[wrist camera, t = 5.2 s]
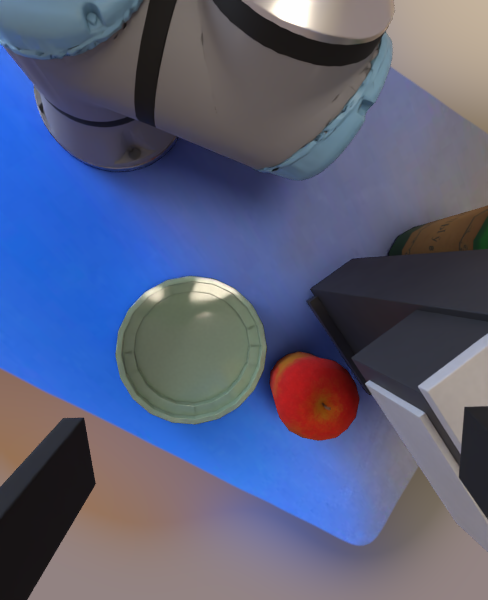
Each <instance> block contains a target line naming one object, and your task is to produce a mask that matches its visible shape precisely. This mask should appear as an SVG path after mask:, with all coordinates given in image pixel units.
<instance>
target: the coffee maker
mask: <svg viewBox="0 0 488 600" xmlns="http://www.w3.org/2000/svg"><path fill="white" fill-rule="evenodd" d="M310 290H311V291H312V293H313V294H314V296H313V297H312V298H310V299H309V300H308V301H307V303H308V305H309V306H310V308H311V309H312V311H313V312H314V314H315V315H316V317H317V318H318V320H319V321H320V323H321V324H322V326H323V327H324V329H325V331H326V332H327V334H328V335H329V337H330V338H331V340H332V341H333V343H334V344H335V346H336V347H337V349H338V350H339V352H340V353H341V355H342V356H343V358H344V359H345V361H346V363H347V364H348V366H349V367H350V369H351V370H352V372H353V373H354V375H355V376H356V378H357V379H358V381H359V382H360V384H361V385H362V387H363V388H364V390H365V391H366V393H368V394H369V395H371V394H372V395H373V397H374V398H375V400H376V401H377V403H378V405H379V406H380V408H381V409H382V411H383V412H384V414H385V415H386V417H387V418H388V420H389V421H390V423H391V424H392V426H393V427H394V429H395V430H396V432H397V434H398V435H399V437H400V438H401V440H402V441H403V443H404V444H405V446H406V447H407V449H408V450H409V452H410V453H411V455H412V456H413V458H414V459H415V461H416V463H417V464H418V466H419V467H420V469H421V470H422V472H423V473H424V475H425V476H426V478H427V479H428V481H429V482H430V484H431V485H432V487H433V488H434V490H435V492H436V493H437V495H438V496H439V498H440V499H441V501H442V502H443V504H444V505H445V507H446V508H447V510H448V511H449V513H450V514H451V516H452V518H453V519H454V520H455V522H456V523H457V524H458V525H459V526H460V527H461V528H462V529H463V530H464V531H465V532H467V533H468V534H469V535H470V536H471V537H472V538H473V539H474V540H475V541H476V542H478V543H479V544H480V545H481V546H482V547H483V548H484V549H485V550H486V551H487V552H488V519H487V518H486V516H485V515H484V513H483V512H482V511H481V509H480V508H479V506H478V505H477V503H476V502H475V500H474V499H473V498H472V496H471V495H470V493H469V492H468V490H467V489H466V487H465V486H464V484H463V483H462V482H461V480H460V479H459V468H460V456H461V443H462V430H463V418H464V407H474V406H488V249H481V250H467V251H453V252H439V253H425V254H411V255H397V256H383V257H369V258H356V259H351V260H350V261H349V262H347V263H346V264H344V265H343V266H342V267H340V268H339V269H337V270H336V271H334V272H333V273H332V274H330V275H329V276H327V277H326V278H325V279H323V280H322V281H320V282H319V283H318V284H316V285H315V286H313V287H312V288H311V289H310Z"/></svg>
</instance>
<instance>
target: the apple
mask: <svg viewBox="0 0 488 600" xmlns="http://www.w3.org/2000/svg"><path fill="white" fill-rule="evenodd" d="M269 384H270V387H271V391H272V394H273V398H274V401H275V405H276V408H277V412H278V414H279V417H280V419H281V420H282V422H283V423H284V424H285V426H286V427H287V428H288V430H289V431H291V432H293V433H295V434H297V435H299V436H300V437H302V438H307V439H313V440H326V439H331V438H336V437H337V436H339V435H340V434H341V433H343V432H344V431H345V430H346V429H348V427H349V426H350V424H351V423H352V422H353V420H354V419H355V417H356V413H357V409H358V404H359V399H360V398H359V395H358V391H357V387H356V383H355V382H354V380H353V379H352V377H351V375H350V374H349V372H348V371H347V370H346V369H345V368H344V367H342V366H341V365H340V364H338V363H337V362H336V361H333V360H329V359H323V358H319V357H316V356H314V355H312V354H309V353H305V352H300V351H299V352H295V353H291V354H287V355H286V356H284V357H283V358H281V359H280V360H278V361H277V363H276V364H275V366H274V367H273V369H272V370H271V373H270V383H269Z"/></svg>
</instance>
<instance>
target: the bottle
mask: <svg viewBox="0 0 488 600" xmlns="http://www.w3.org/2000/svg"><path fill="white" fill-rule="evenodd" d="M481 249H488V206H485V207H482V208H478V209H475V210H471V211H468V212H464V213H461V214H458V215H454V216H451V217H447V218H444V219H441V220H437V221H434V222H430V223H427V224H423V225H420V226H417V227H413V228H412V229H410V230H408V231H406V232H405V233H403V234H401V235H400V236H398V238H397V239H396V241H395V243H394V245H393V246H392V248H391V250H390V252H389V256H397V255H411V254H425V253H439V252H453V251H467V250H481Z"/></svg>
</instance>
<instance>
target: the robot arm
mask: <svg viewBox="0 0 488 600" xmlns="http://www.w3.org/2000/svg"><path fill="white" fill-rule="evenodd" d="M393 15H394V0H0V44H1V45H2V46H3V47H4V48H5V49H6V51H7V52H8V53H9V54H10V56H11V57H12V58H13V59H14V60H15V62H16V63H17V64H18V65H19V67H20V68H21V69H22V70H23V72H24V73H25V74H26V75H27V77H28V78H29V79H30V80H31V81H32V83H33V84H34V94H35V99H36V104H37V107H38V110H39V112H40V115H41V117H42V120H43V122H44V124H45V126H46V127H47V129H48V130H49V132H50V133H51V135H52V136H53V137H54V138H55V140H56V141H57V142H58V143H59V144H60V145H61V146H62V147H63V148H64V149H65V150H66V151H67V152H68V153H70V154H71V155H72V156H73V157H75V158H76V159H78V160H79V161H81V162H83V163H85V164H87V165H89V166H92V167H95V168H98V169H101V170H106V171H113V172H124V171H132V170H137V169H141V168H143V167H146V166H148V165H150V164H152V163H154V162H156V161H157V160H159V159H160V158H161V157H163V156H164V155H165V154H166V153H167V152H168V151H169V150H170V149H171V147H172V146H173V145H174V143H175V142H176V140H177V139H178V137H179V138H182V139H184V140H187V141H189V142H191V143H194V144H196V145H199V146H201V147H204V148H206V149H208V150H211V151H213V152H216V153H218V154H220V155H223V156H225V157H228V158H230V159H233V160H235V161H237V162H240V163H242V164H245V165H247V166H250V167H252V168H253V169H254V170H256V171H260V172H264V173H268V172H269V173H272V174H275V175H278V176H281V177H284V178H287V179H290V180H306V179H309V178H312V177H314V176H316V175H317V174H319V173H321V172H322V171H323V170H325V169H326V168H327V167H328V166H329V165H330V164H332V163H333V162H334V161H335V160H336V159H337V158H338V156H339V155H340V154H341V153H342V152H343V151H344V150H345V148H346V147H347V146H348V145H349V143H350V142H351V141H352V139H353V138H354V137H355V135H356V134H357V132H358V131H359V129H360V128H361V126H362V125H363V123H364V121H365V115H366V112H367V111H368V109H369V108H370V107H371V106H372V105H373V104H374V103H375V102H376V100H377V98H378V96H379V94H380V92H381V90H382V88H383V85H384V83H385V80H386V78H387V75H388V72H389V69H390V65H391V61H392V41H391V39H390V37H389V36H388V34H387V33H386V30H387V28H388V26H389V24H390V22H391V21H392V18H393ZM459 479H460V480H461V482H462V483H463V484H464V486H465V487H466V489H467V490H468V492H469V493H470V495H471V496H472V498H473V499H474V500H475V502H476V503H477V505H478V506H479V508H480V509H481V511H482V512H483V513H484V515H485V516H486V518H487V519H488V406H474V407H464V418H463V430H462V443H461V456H460V468H459ZM95 484H96V483H95V478H94V472H93V466H92V461H91V455H90V449H89V444H88V438H87V432H86V426H85V421H84V418H63V419H62V420H61V421H60V422H59V423H58V425H57V426H56V427H55V428H54V429H53V430H52V431H51V432H50V433H49V434H48V435H47V436H46V438H45V439H44V440H43V441H42V442H41V443H40V444H39V445H38V446H37V447H36V448H35V450H34V451H33V452H32V453H31V454H30V455H29V456H28V457H27V458H26V459H25V461H24V462H23V463H22V464H21V465H20V466H19V467H18V468H17V469H16V470H15V471H14V473H13V474H12V475H11V476H10V477H9V478H8V479H7V480H6V481H5V482H4V484H3V485H2V486H1V487H0V600H27V599H28V597H29V596H30V594H31V592H32V591H33V589H34V587H35V585H36V584H37V582H38V580H39V579H40V577H41V576H42V574H43V572H44V570H45V569H46V567H47V565H48V563H49V562H50V560H51V559H52V557H53V555H54V553H55V552H56V550H57V548H58V547H59V545H60V543H61V541H62V540H63V538H64V537H65V535H66V533H67V531H68V530H69V528H70V526H71V525H72V523H73V521H74V519H75V518H76V516H77V515H78V513H79V511H80V510H81V508H82V506H83V505H84V503H85V501H86V499H87V498H88V496H89V494H90V493H91V491H92V489H93V488H94V486H95Z"/></svg>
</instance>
